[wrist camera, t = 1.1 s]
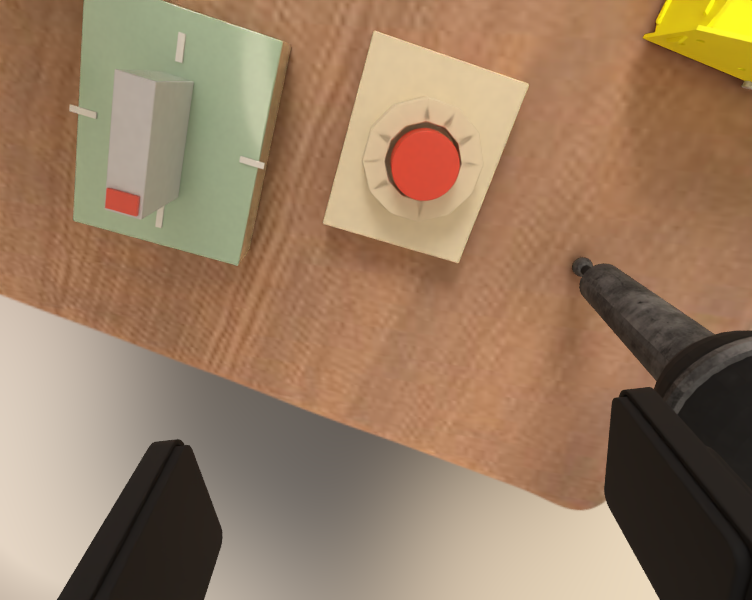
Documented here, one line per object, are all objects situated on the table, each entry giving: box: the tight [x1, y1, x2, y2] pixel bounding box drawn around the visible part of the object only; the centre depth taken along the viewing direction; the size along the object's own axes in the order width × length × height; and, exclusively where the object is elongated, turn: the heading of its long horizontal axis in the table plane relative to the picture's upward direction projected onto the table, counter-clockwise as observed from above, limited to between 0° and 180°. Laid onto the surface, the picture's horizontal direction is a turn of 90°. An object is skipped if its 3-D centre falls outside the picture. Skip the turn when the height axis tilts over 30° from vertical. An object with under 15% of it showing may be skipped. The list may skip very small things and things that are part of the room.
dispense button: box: [390, 128, 460, 201], centre depth 26 cm, size 4×4×2 cm
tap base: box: [69, 0, 291, 266], centre depth 28 cm, size 13×11×3 cm
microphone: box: [572, 257, 752, 490], centre depth 24 cm, size 7×7×20 cm
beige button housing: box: [323, 31, 529, 263], centre depth 29 cm, size 11×9×4 cm
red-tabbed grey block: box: [104, 69, 194, 220], centre depth 25 cm, size 6×2×5 cm, turn 163°
